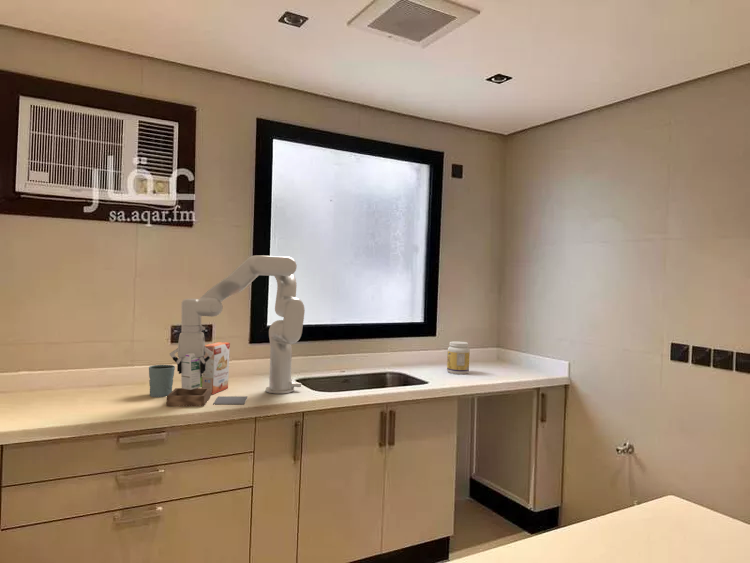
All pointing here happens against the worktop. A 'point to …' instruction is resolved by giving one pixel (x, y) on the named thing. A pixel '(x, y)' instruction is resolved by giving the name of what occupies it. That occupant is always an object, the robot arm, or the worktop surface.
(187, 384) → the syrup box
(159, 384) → the teal cup
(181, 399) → the walnut box
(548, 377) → the worktop surface
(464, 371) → the supplement tub
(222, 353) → the cracker box
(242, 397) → the grey mat
